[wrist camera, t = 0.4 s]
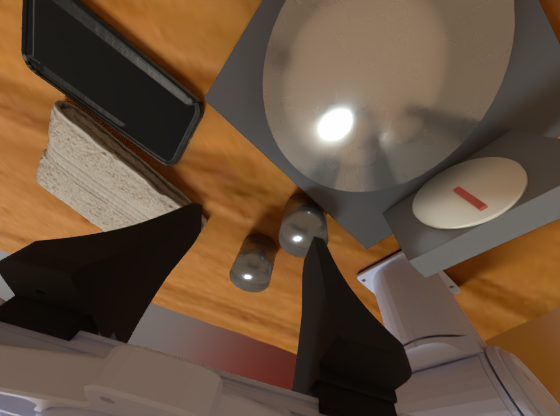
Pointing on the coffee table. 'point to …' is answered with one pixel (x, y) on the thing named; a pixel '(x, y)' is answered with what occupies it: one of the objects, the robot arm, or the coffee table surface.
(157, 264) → the robot arm
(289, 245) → the cylinder
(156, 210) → the washcloth
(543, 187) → the scale
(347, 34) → the pan
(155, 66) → the phone
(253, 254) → the cylinder
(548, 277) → the coffee table surface
